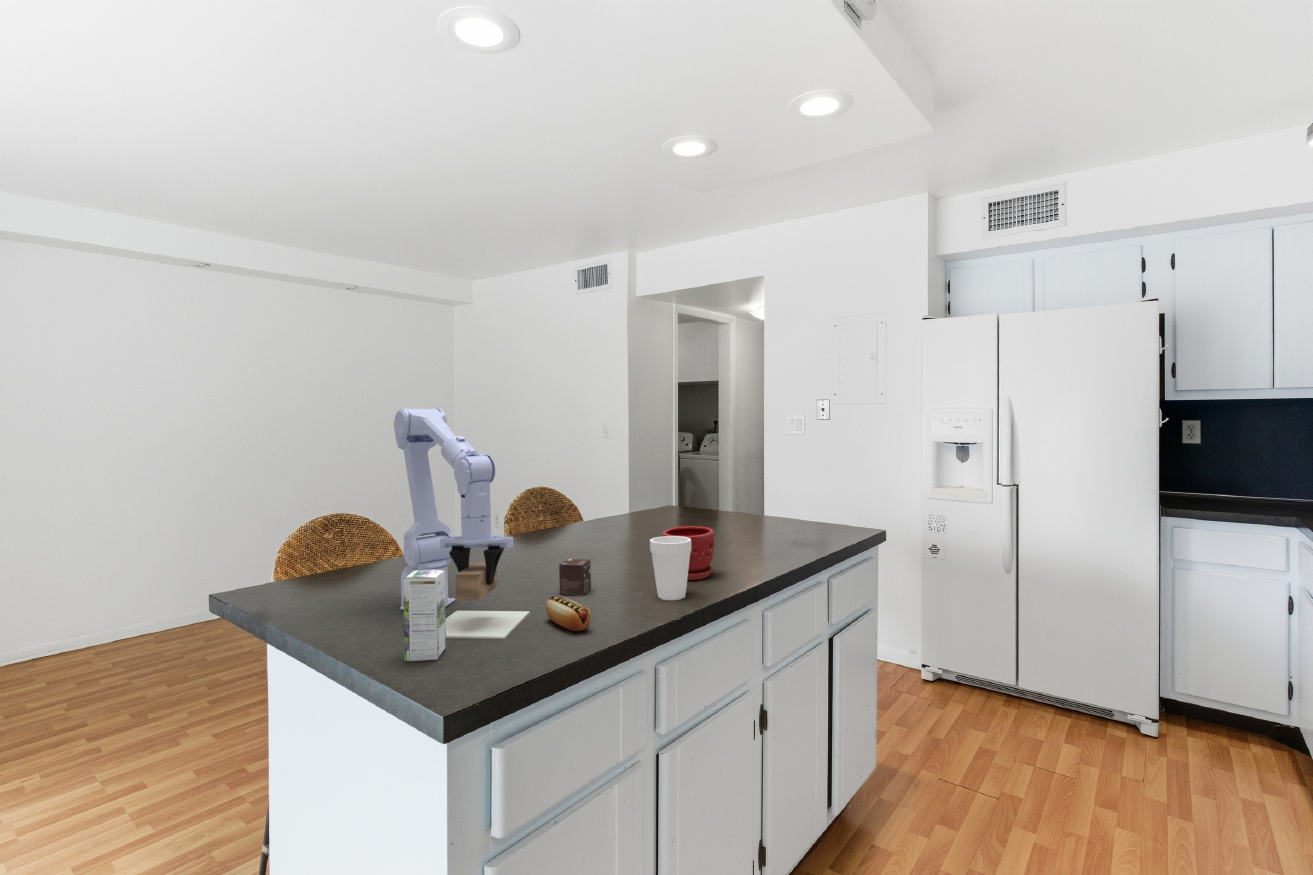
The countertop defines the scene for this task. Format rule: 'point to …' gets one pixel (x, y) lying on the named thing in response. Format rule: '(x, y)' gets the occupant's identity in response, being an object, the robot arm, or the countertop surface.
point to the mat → (483, 624)
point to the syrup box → (424, 615)
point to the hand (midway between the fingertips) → (477, 583)
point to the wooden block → (473, 583)
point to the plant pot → (697, 549)
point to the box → (575, 577)
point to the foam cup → (671, 565)
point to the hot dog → (568, 613)
